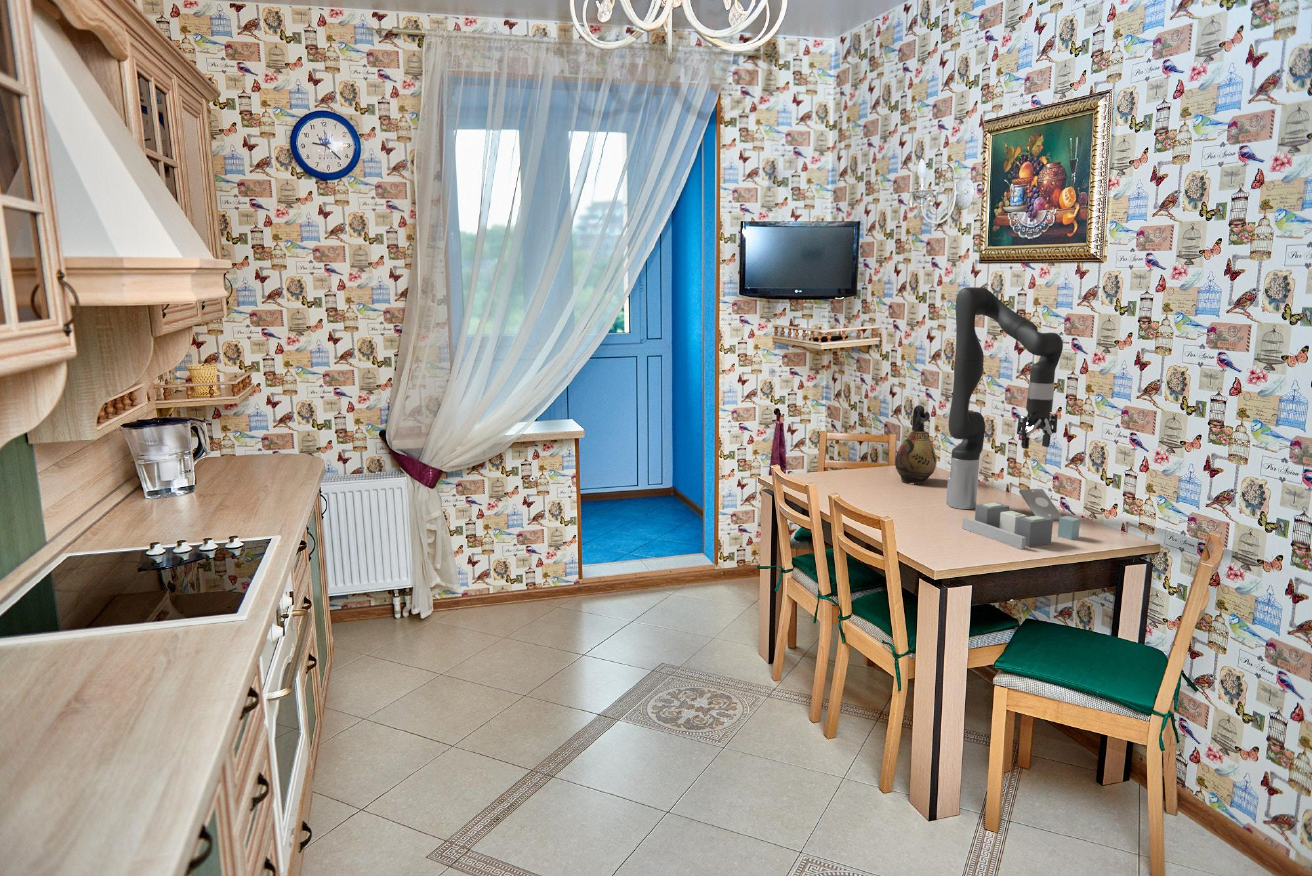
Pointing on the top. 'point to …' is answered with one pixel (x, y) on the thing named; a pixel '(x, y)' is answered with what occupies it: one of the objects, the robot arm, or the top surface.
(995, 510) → the rail mount
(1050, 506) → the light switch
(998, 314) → the robot arm
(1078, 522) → the block
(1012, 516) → the module
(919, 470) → the ceramic jug
